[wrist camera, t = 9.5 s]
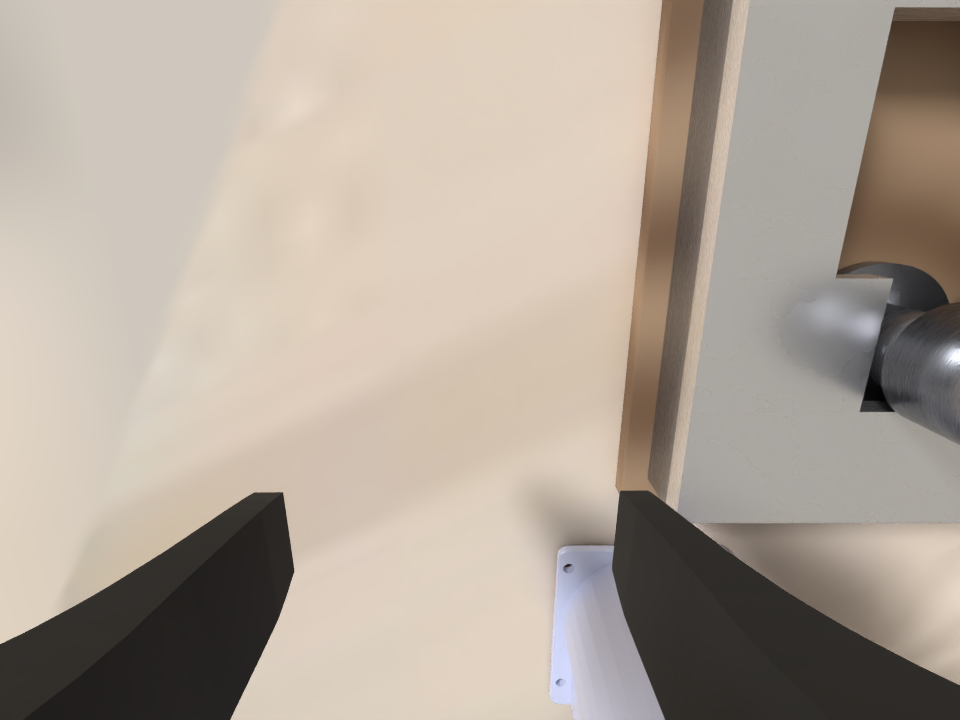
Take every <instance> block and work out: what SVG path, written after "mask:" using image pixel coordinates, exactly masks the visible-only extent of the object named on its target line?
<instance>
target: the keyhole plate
mask: <svg viewBox="0 0 960 720" xmlns="http://www.w3.org/2000/svg"><path fill="white" fill-rule="evenodd" d="M892 21H960V0H704V4H703V12H702V21H701V29H700V38H699V46H698V55H697V63H696V71H695V80H694V88H693V97H692V105H691V114H690V122H689V131H688V139H687V147H686V156H685V164H684V173H683V181H682V190H681V198H680V207H679V215H678V223H677V232H676V240H675V249H674V257H673V266H672V274H671V283H670V291H669V299H668V308H667V316H666V325H665V333H664V342H663V350H662V359H661V367H660V375H659V384H658V392H657V401H656V409H655V418H654V426H653V435H652V443H651V451H650V460H649V468H648V477H647V478H648V480H649V482H650V483H651V485H652V486H653V488H654V490H655V491H656V493H657V495H658V496H659V498H660V499H661V500H662V501H664V502H665V503H666V504H667V505H669V506H670V507H671V508H672V509H674V510H675V511H676V512H678V513H679V514H680V515H681V516H683V517H684V518H685V519H686V520H688V521H689V522H690V523H960V445H958V444H956V443H954V442H952V441H950V440H948V439H946V438H944V437H942V436H940V435H938V434H936V433H934V432H932V431H930V430H928V429H926V428H924V427H922V426H920V425H918V424H916V423H914V422H912V421H910V420H908V419H906V418H904V417H902V416H900V415H899V414H898V413H896V412H895V411H894V410H893V409H892V408H891V407H890V405H889V404H888V402H887V401H862V400H863V396H864V392H865V388H866V384H867V380H868V376H869V372H870V368H871V364H872V361H873V357H874V353H875V349H876V345H877V341H878V337H879V333H880V329H881V325H882V321H883V317H884V313H885V309H886V305H887V302H888V298H889V294H890V290H891V286H892V282H893V278H887V277H881V276H876V275H870V274H837V269H838V265H839V260H840V256H841V251H842V247H843V242H844V237H845V233H846V228H847V224H848V219H849V215H850V210H851V205H852V201H853V196H854V192H855V187H856V183H857V178H858V173H859V169H860V164H861V160H862V155H863V151H864V146H865V142H866V137H867V132H868V128H869V123H870V119H871V114H872V110H873V105H874V100H875V96H876V91H877V87H878V82H879V78H880V73H881V68H882V64H883V59H884V55H885V50H886V46H887V41H888V36H889V32H890V27H891V23H892Z"/></svg>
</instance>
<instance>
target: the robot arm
mask: <svg viewBox="0 0 960 720" xmlns="http://www.w3.org/2000/svg"><path fill="white" fill-rule="evenodd" d="M566 564H572V565H571V566H570V567H564V566H565V565H566ZM293 574H294V565H293V558H292V551H291V544H290V537H289V530H288V524H287V517H286V510H285V503H284V496H283V492H275V493H253V494H251V495H249V496H248V497H246V498H244V499H243V500H241V501H240V502H238V503H236V504H235V505H233V506H232V507H230V508H229V509H227V510H226V511H224V512H223V513H221V514H220V515H218V516H217V517H215V518H214V519H213V520H211V521H210V522H208V523H207V524H205V525H204V526H202V527H201V528H199V529H198V530H196V531H195V532H193V533H192V534H190V535H189V536H187V537H186V538H184V539H183V540H181V541H180V542H178V543H177V544H175V545H174V546H172V547H171V548H169V549H168V550H166V551H165V552H163V553H162V554H160V555H159V556H157V557H155V558H154V559H152V560H151V561H149V562H147V563H146V564H144V565H142V566H141V567H139V568H138V569H136V570H134V571H133V572H131V573H130V574H128V575H126V576H125V577H123V578H122V579H120V580H118V581H117V582H115V583H114V584H112V585H110V586H109V587H107V588H105V589H104V590H102V591H100V592H99V593H97V594H95V595H93V596H92V597H90V598H88V599H86V600H85V601H83V602H81V603H79V604H77V605H76V606H74V607H72V608H70V609H68V610H66V611H64V612H63V613H61V614H59V615H57V616H55V617H53V618H51V619H50V620H48V621H46V622H44V623H42V624H40V625H39V626H37V627H35V628H33V629H31V630H29V631H27V632H25V633H23V634H21V635H19V636H17V637H14V638H12V639H10V640H8V641H6V642H4V643H2V644H0V720H230V719H231V717H232V715H233V713H234V711H235V708H236V706H237V704H238V702H239V700H240V698H241V696H242V694H243V692H244V690H245V688H246V686H247V684H248V682H249V679H250V677H251V675H252V673H253V671H254V669H255V667H256V665H257V663H258V661H259V659H260V657H261V655H262V652H263V650H264V648H265V646H266V644H267V642H268V640H269V638H270V636H271V633H272V631H273V629H274V627H275V625H276V623H277V621H278V618H279V616H280V613H281V610H282V607H283V604H284V601H285V599H286V596H287V593H288V589H289V586H290V583H291V580H292V577H293ZM559 679H560V680H559ZM549 693H550V699H551V701H552V702H554V703H556V704H571V710H572V715H573V720H960V685H958V684H955V683H953V682H951V681H949V680H947V679H945V678H943V677H941V676H939V675H937V674H935V673H933V672H930V671H928V670H926V669H924V668H922V667H920V666H918V665H916V664H914V663H912V662H910V661H908V660H906V659H904V658H903V657H901V656H899V655H897V654H895V653H893V652H891V651H889V650H887V649H885V648H883V647H881V646H879V645H877V644H876V643H874V642H872V641H870V640H868V639H866V638H864V637H862V636H861V635H859V634H857V633H855V632H853V631H851V630H850V629H848V628H846V627H844V626H842V625H841V624H839V623H837V622H836V621H834V620H832V619H831V618H829V617H827V616H825V615H824V614H822V613H820V612H819V611H817V610H815V609H814V608H812V607H810V606H809V605H807V604H805V603H804V602H802V601H800V600H799V599H797V598H796V597H794V596H792V595H791V594H789V593H788V592H786V591H785V590H783V589H781V588H780V587H778V586H777V585H775V584H774V583H772V582H771V581H770V580H768V579H767V578H765V577H764V576H762V575H761V574H759V573H758V572H756V571H755V570H753V569H752V568H751V567H749V566H748V565H746V564H745V563H743V562H742V561H741V560H739V559H738V558H736V557H735V556H734V555H732V554H731V553H730V552H729V551H728V550H727V549H726V548H725V547H723V546H720V545H719V544H717V543H716V542H715V541H714V540H712V539H711V538H710V537H708V536H707V535H706V534H704V533H703V532H702V531H700V530H699V529H698V528H697V527H695V526H694V525H693V524H692V523H690V522H689V521H688V520H686V519H685V518H684V517H683V516H681V515H680V514H679V513H678V512H676V511H675V510H674V509H672V508H671V507H670V506H669V505H667V504H666V503H665V502H664V501H662V500H661V499H660V498H658V497H657V496H656V495H654V494H653V493H651V492H650V491H648V490H638V491H620V496H619V505H618V514H617V524H616V533H615V542H614V546H564V547H562V548H560V550H559V551H558V554H557V567H556V584H555V601H554V618H553V635H552V652H551V669H550V685H549Z"/></svg>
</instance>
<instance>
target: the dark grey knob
mask: <svg viewBox="0 0 960 720" xmlns="http://www.w3.org/2000/svg"><path fill="white" fill-rule="evenodd" d="M837 274H870V275H876V276H881V277H887V278H893V282H892V286H891V290H890V294H889V298H888V302H887V305H886V309H885V313H884V317H883V321H882V325H881V329H880V333H879V337H878V341H877V345H876V349H875V353H874V357H873V361H872V364H871V368H870V372H869V376H868V380H867V384H866V388H865V392H864V396H863V400H862V401H887V402H888V404H889V405H890V407H891V408H892V409H893V410H894V411H895V412H896V413H898V414H899V415H900V416H902V417H904V418H906V419H908V420H910V421H912V422H914V423H916V424H918V425H920V426H922V427H924V428H926V429H928V430H930V431H932V432H934V433H936V434H938V435H940V436H942V437H944V438H946V439H948V440H950V441H952V442H954V443H956V444H958V445H960V302H956V303H949V301H948V298H947V295H946V293H945V292H944V290H943V288H942V287H941V286H940V284H939V283H938V282H937V281H936V280H935V279H934V278H933V277H932V276H930V275H929V274H927V273H926V272H924V271H922V270H920V269H918V268H915V267H913V266H908V265H904V264H897V263H889V262H879V261H870V262H862V263H856V264H853V265H849V266H846V267H844V268H841V269H839V270H837Z"/></svg>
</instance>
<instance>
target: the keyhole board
mask: <svg viewBox="0 0 960 720" xmlns="http://www.w3.org/2000/svg"><path fill="white" fill-rule="evenodd" d="M703 4H704V0H663V1H662V12H661V22H660V32H659V43H658V53H657V63H656V74H655V84H654V94H653V105H652V115H651V125H650V136H649V146H648V156H647V167H646V177H645V187H644V198H643V208H642V218H641V229H640V239H639V249H638V260H637V270H636V280H635V291H634V301H633V311H632V322H631V332H630V342H629V353H628V363H627V373H626V384H625V394H624V404H623V414H622V425H621V435H620V445H619V456H618V466H617V476H616V488H617V490H618V492H619V494H620V491H638V490H648V491H650V492H651V493H653V494H654V495H656V496H657V497H658V498H659V496H658V495H657V493H656V491H655V490H654V488H653V486H652V485H651V483H650V482H649V480H648V478H647V477H648V468H649V460H650V451H651V443H652V435H653V426H654V418H655V409H656V401H657V392H658V384H659V375H660V367H661V359H662V350H663V342H664V333H665V325H666V316H667V308H668V299H669V291H670V283H671V274H672V266H673V257H674V249H675V240H676V232H677V223H678V215H679V207H680V198H681V190H682V181H683V173H684V164H685V156H686V147H687V139H688V131H689V122H690V114H691V105H692V97H693V88H694V80H695V71H696V63H697V55H698V46H699V38H700V29H701V21H702V12H703ZM870 261H879V262H889V263H897V264H904V265H908V266H913V267H915V268H918V269H920V270H922V271H924V272H926V273H927V274H929V275H930V276H932V277H933V278H934V279H935V280H936V281H937V282H938V283H939V284H940V286H941V287H942V288H943V290H944V292H945V293H946V295H947V298H948V301H949V303H956V302H960V21H892V23H891V27H890V32H889V36H888V41H887V46H886V50H885V55H884V59H883V64H882V68H881V73H880V78H879V82H878V87H877V91H876V96H875V100H874V105H873V110H872V114H871V119H870V123H869V128H868V132H867V137H866V142H865V146H864V151H863V155H862V160H861V164H860V169H859V173H858V178H857V183H856V187H855V192H854V196H853V201H852V205H851V210H850V215H849V219H848V224H847V228H846V233H845V237H844V242H843V247H842V251H841V256H840V260H839V265H838V269H837V270H839V269H841V268H844V267H846V266H849V265H853V264H856V263H862V262H870Z"/></svg>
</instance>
